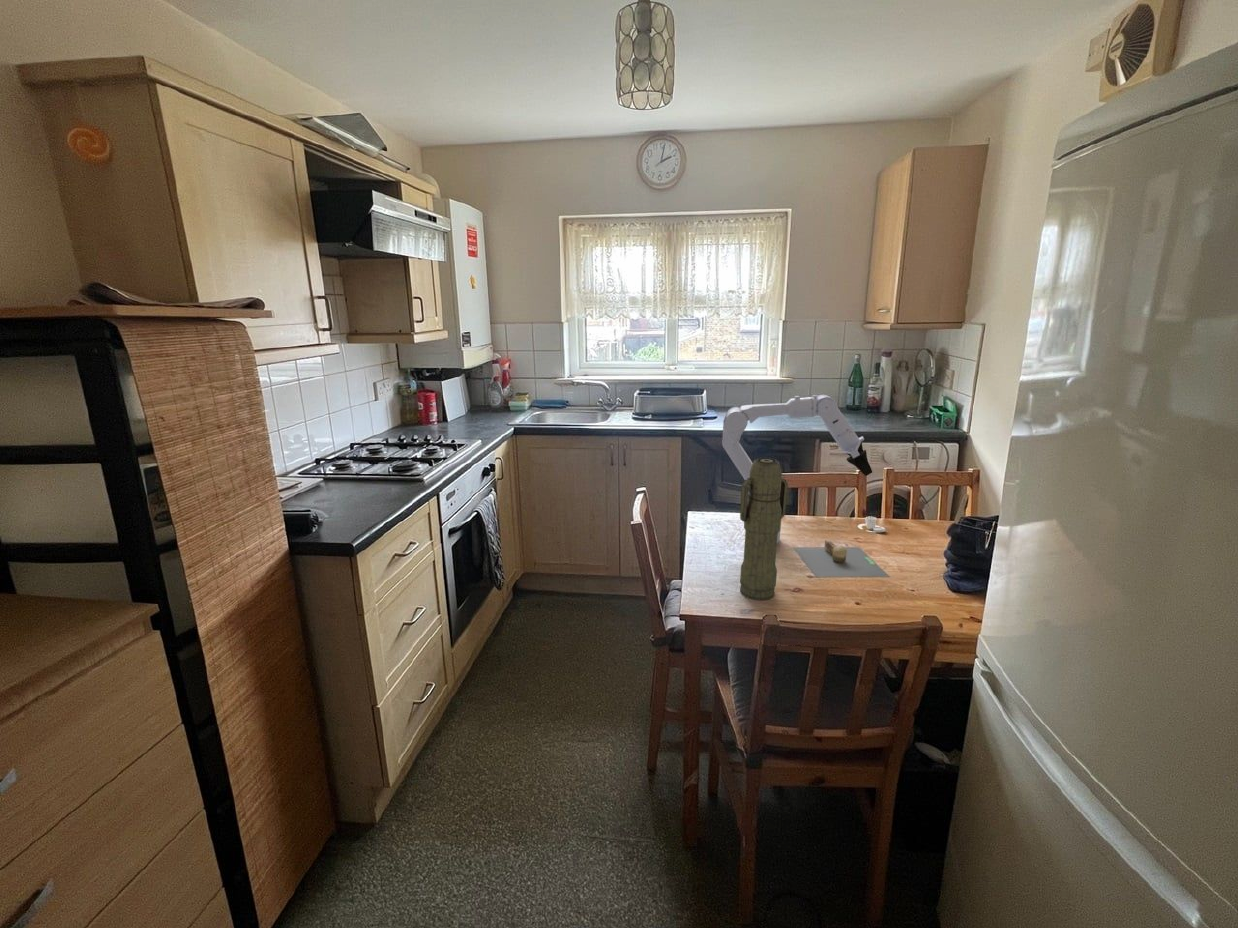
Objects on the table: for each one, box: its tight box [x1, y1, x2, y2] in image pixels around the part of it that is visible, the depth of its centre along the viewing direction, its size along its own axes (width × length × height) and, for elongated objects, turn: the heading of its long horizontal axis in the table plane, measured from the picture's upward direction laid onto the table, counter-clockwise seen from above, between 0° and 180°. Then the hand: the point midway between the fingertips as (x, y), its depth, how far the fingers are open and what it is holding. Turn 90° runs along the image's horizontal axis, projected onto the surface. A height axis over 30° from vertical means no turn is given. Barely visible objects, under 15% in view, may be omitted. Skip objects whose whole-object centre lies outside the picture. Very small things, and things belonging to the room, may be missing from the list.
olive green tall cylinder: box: [739, 457, 789, 601], centre depth 142 cm, size 9×12×35 cm
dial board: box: [792, 546, 891, 578], centre depth 162 cm, size 20×20×1 cm
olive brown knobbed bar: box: [823, 539, 847, 562], centre depth 165 cm, size 10×4×3 cm, turn 6°
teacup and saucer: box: [857, 515, 886, 534], centre depth 189 cm, size 9×8×4 cm
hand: (867, 469), depth 166 cm, fingers open, 7 cm apart
